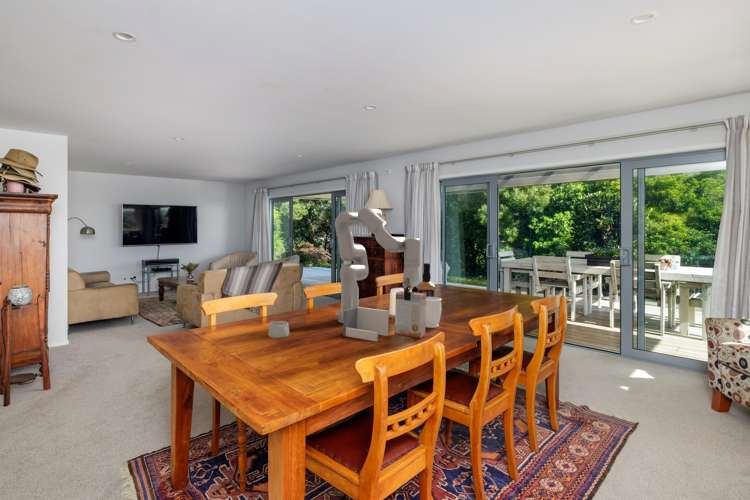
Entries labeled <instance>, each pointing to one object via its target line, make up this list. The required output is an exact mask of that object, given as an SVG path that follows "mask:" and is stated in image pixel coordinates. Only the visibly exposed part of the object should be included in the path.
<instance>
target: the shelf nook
mask: <svg viewBox="0 0 750 500" xmlns="http://www.w3.org/2000/svg"><path fill="white" fill-rule="evenodd" d="M342 324H343V326H342V330H343V331H342V335H343V337H347V338H348V337H349V338H353V339H354V338H355V339H360V340H365V341H371V342H372V341H373V342H378V341H379V336H385V337H387V336H389V310H385V309H377V308H369V307H364V306H363V307H361V306H358V307H353V308H351V309H348V310H345V311H344V314H343V323H342Z"/></svg>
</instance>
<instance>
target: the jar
mask: <svg viewBox="0 0 750 500" xmlns="http://www.w3.org/2000/svg"><path fill="white" fill-rule="evenodd" d="M441 302H442V298H441V297H437V296H434V297H426V325H425V328H428V329H437V328H439V327H440V325H439V323H440V321H441V315H442V303H441Z"/></svg>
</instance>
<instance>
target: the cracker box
mask: <svg viewBox="0 0 750 500" xmlns="http://www.w3.org/2000/svg"><path fill="white" fill-rule="evenodd" d="M410 292H411V300H410V301H408V300H404V290H400V291H399V290H398V291H396V292H395V309H394V312H395V313H394V334H395V335H399V336H406V337H409V338H410V337H411V338H415V339H422V338H423V337H425V336H426V327H425V325H426V294H424V293H415V292H412V291H410Z"/></svg>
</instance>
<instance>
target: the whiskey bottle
mask: <svg viewBox="0 0 750 500" xmlns="http://www.w3.org/2000/svg"><path fill="white" fill-rule="evenodd" d="M431 279H432V277H431V263H428V262H424V263H423V272H422V280H421V281H419V285H418V293H424V294H426V297H435V291H436V285H435V284H434V283H432V282H431Z"/></svg>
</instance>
